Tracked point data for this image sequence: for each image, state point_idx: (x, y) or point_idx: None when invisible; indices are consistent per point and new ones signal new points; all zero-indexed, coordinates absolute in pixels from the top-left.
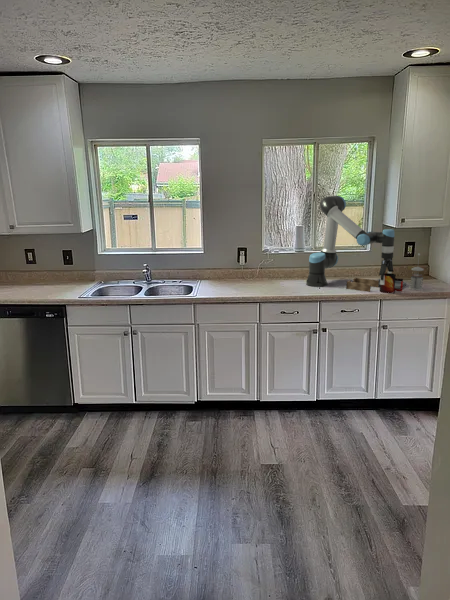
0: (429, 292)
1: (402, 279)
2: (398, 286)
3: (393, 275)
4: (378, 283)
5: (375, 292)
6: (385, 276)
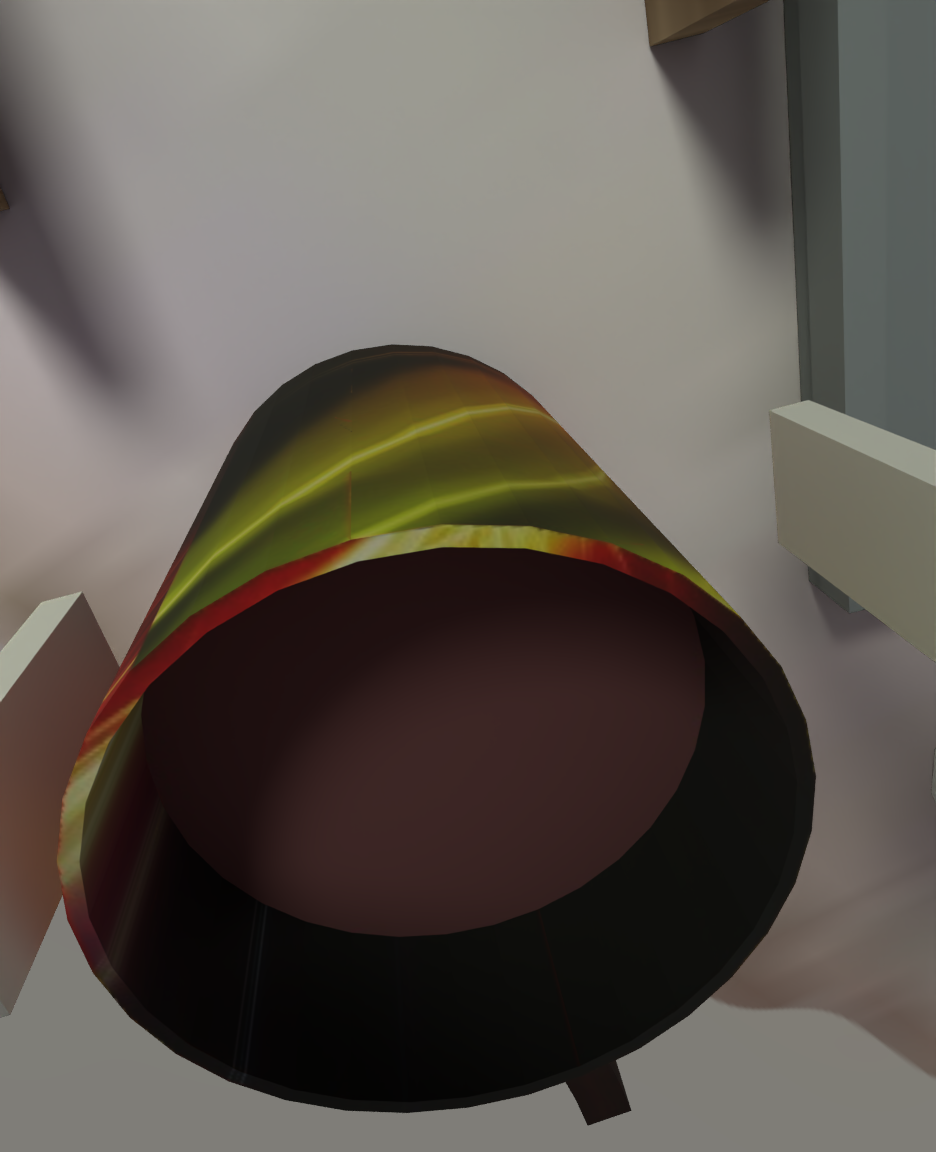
0: (874, 997)
1: (583, 1106)
2: (845, 594)
3: (729, 868)
4: (750, 7)
5: (68, 391)
6: (97, 946)
